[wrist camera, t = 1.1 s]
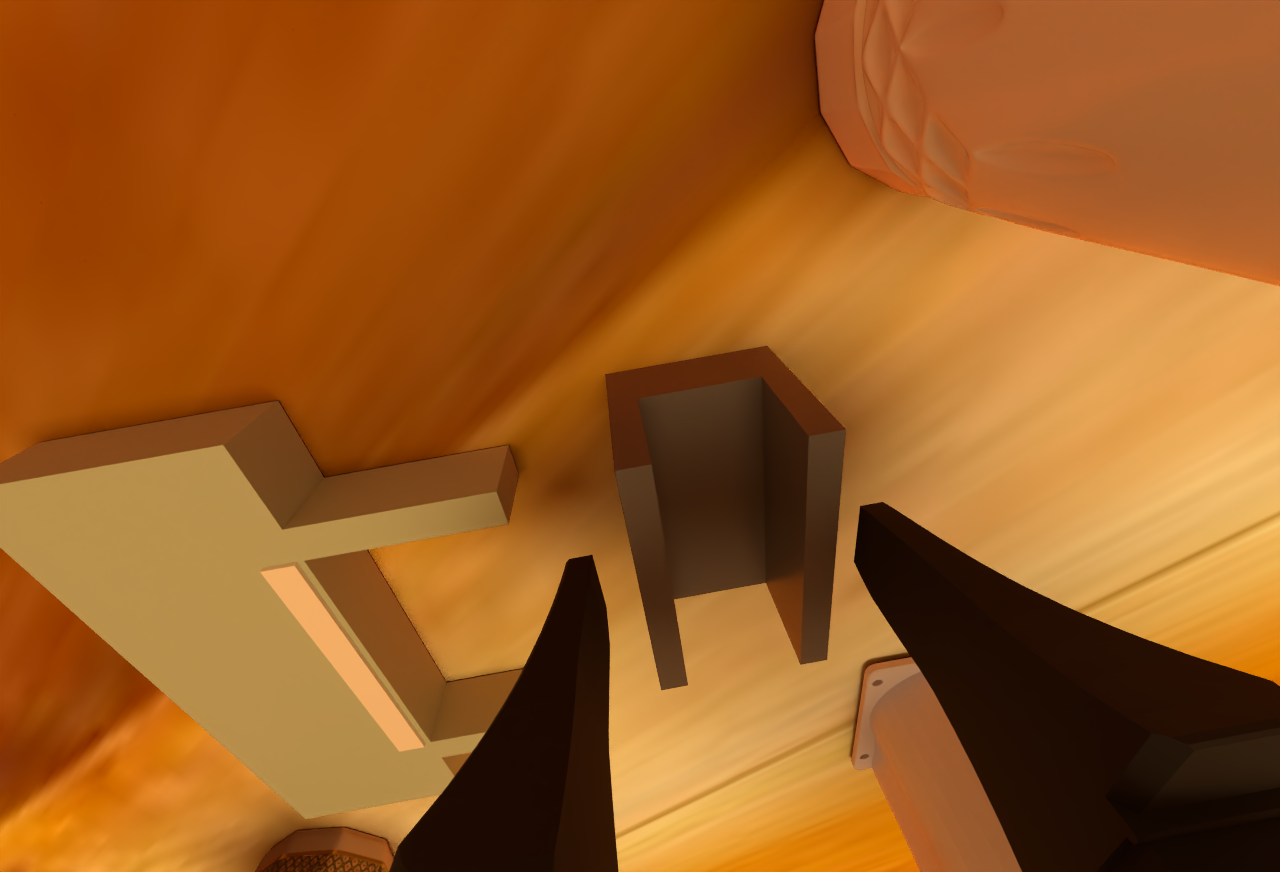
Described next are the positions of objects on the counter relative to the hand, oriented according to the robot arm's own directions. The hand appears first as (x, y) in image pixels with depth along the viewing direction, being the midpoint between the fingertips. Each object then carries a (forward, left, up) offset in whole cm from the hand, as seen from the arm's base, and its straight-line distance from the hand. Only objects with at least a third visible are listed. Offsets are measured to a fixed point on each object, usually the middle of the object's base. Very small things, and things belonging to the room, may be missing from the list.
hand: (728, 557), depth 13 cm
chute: (0, 0, -5) cm, 5 cm away
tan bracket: (-4, +12, -4) cm, 13 cm away
